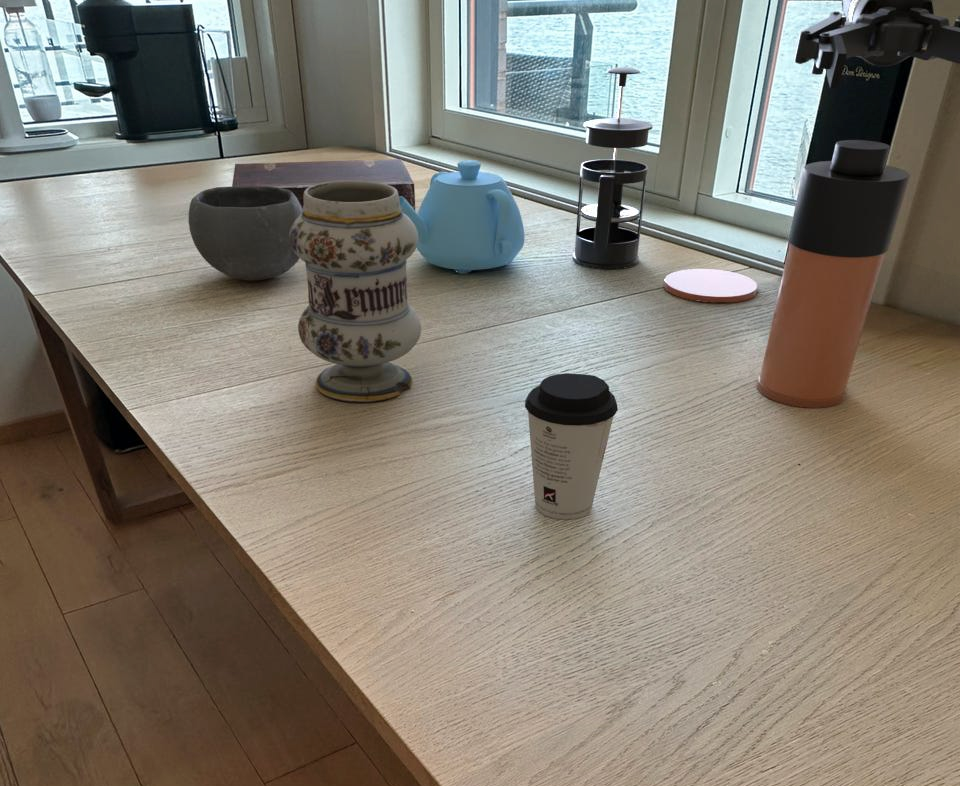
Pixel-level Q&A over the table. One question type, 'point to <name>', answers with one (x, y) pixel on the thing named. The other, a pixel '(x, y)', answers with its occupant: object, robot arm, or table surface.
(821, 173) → the shaker lid
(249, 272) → the bowl
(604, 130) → the french press
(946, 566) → the table surface
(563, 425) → the coffee cup
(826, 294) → the cylinder
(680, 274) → the coaster
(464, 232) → the teapot
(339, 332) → the apothecary jar
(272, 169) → the hardback book
